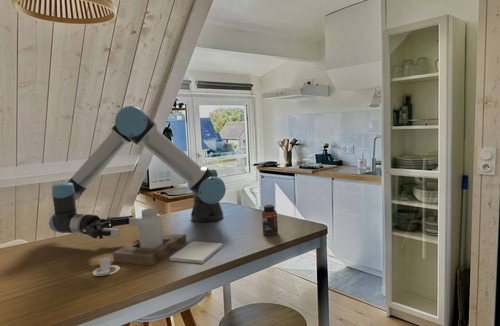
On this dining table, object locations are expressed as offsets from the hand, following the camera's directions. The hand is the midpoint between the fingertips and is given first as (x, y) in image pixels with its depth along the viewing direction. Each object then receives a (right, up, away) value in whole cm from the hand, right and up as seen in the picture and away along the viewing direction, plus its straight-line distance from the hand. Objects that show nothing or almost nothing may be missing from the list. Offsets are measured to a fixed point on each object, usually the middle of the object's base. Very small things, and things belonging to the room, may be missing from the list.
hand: (132, 227), depth 125 cm
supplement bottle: (+50, -5, +12) cm, 52 cm away
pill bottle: (+8, -8, -1) cm, 11 cm away
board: (+24, -8, -5) cm, 26 cm away
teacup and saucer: (-5, -11, -18) cm, 22 cm away
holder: (+8, -8, -1) cm, 11 cm away
